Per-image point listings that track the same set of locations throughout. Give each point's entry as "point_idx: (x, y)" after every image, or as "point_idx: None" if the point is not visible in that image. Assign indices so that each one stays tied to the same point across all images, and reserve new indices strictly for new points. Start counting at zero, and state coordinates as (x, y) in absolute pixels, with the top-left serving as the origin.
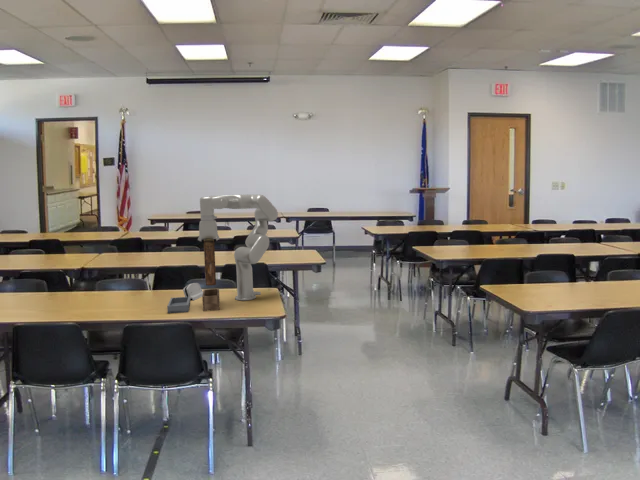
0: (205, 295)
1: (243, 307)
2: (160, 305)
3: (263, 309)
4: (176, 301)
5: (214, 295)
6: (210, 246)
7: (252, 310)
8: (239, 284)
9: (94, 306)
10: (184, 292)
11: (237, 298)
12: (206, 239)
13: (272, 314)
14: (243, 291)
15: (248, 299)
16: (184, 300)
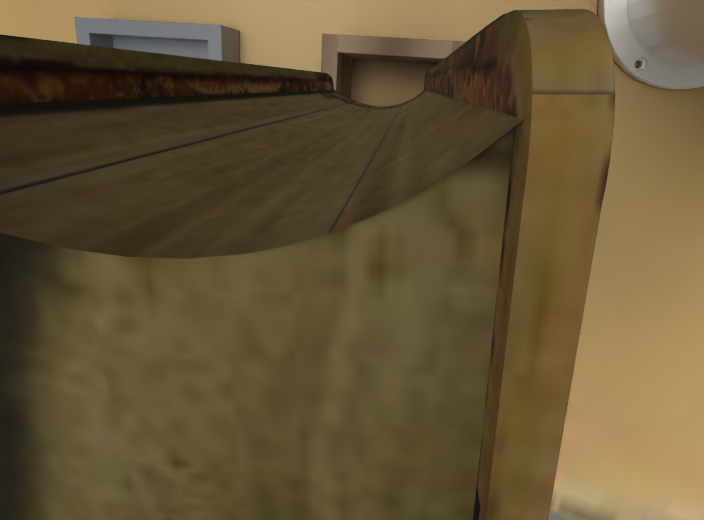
0: (343, 69)
1: (588, 294)
2: (37, 30)
3: (693, 387)
4: (132, 37)
5: (420, 60)
6: None
7: (620, 386)
8: (701, 29)
9: None
10: None
11: (612, 48)
12: (43, 486)
13: (697, 503)
14: (696, 60)
15: (695, 87)
16: (188, 40)
